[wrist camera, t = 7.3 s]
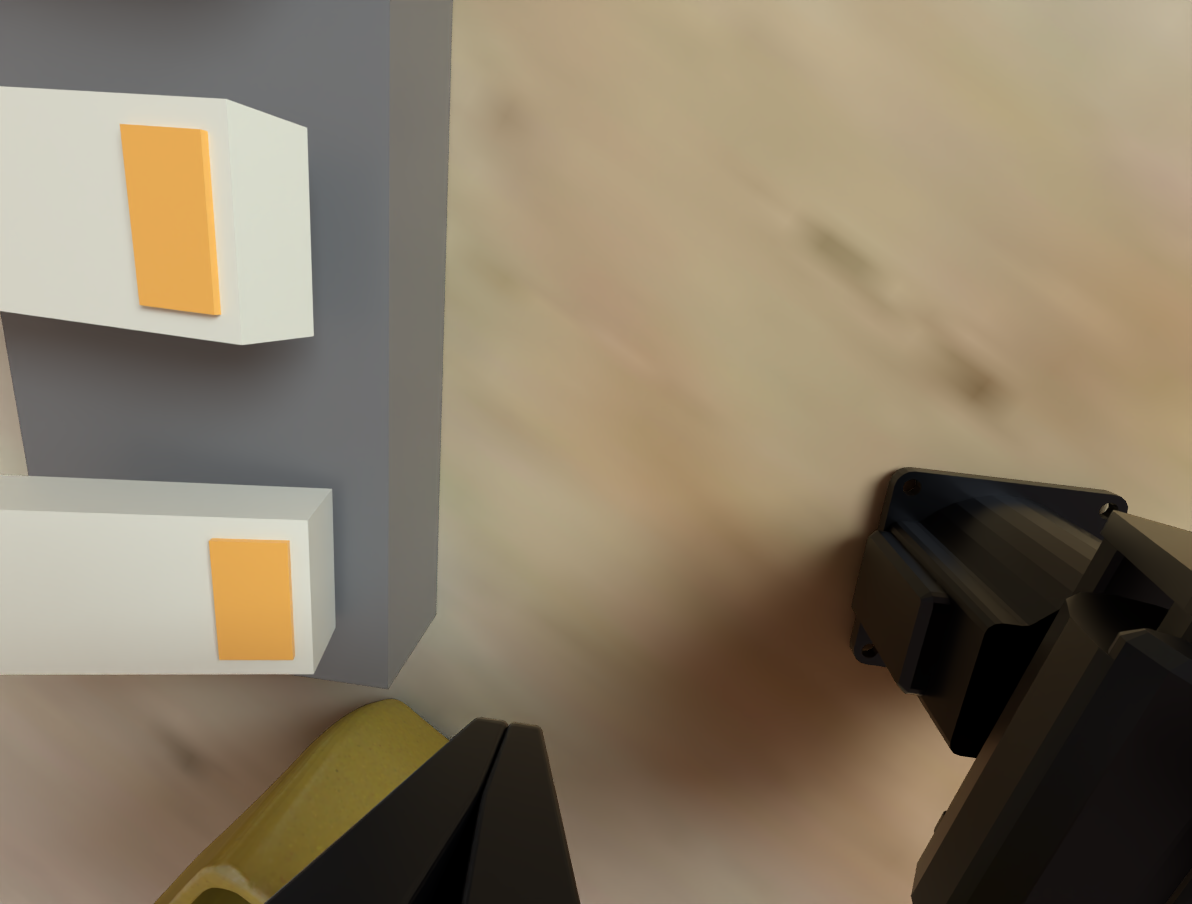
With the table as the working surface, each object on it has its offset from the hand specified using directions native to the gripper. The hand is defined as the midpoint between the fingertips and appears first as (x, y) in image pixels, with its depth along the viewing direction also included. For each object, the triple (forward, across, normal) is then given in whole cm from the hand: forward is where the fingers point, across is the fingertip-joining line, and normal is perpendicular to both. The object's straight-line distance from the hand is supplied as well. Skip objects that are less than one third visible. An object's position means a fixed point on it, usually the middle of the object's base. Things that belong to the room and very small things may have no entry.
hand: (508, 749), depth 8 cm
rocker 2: (+6, +10, +2) cm, 12 cm away
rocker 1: (+6, +10, -6) cm, 13 cm away
